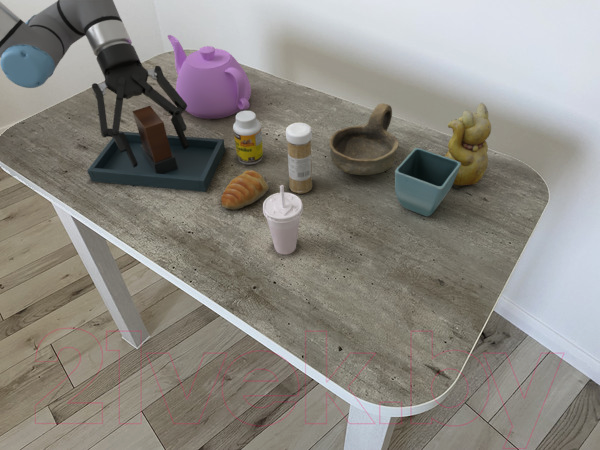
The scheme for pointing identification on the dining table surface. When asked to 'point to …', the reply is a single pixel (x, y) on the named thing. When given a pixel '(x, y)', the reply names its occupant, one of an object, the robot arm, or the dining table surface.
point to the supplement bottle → (248, 138)
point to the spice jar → (299, 157)
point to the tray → (118, 169)
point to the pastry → (244, 190)
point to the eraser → (154, 141)
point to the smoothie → (283, 219)
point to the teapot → (210, 82)
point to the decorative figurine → (470, 145)
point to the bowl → (365, 145)
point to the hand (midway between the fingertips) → (161, 156)
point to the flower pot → (424, 180)
